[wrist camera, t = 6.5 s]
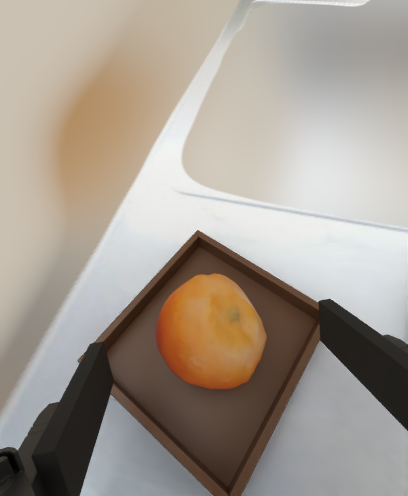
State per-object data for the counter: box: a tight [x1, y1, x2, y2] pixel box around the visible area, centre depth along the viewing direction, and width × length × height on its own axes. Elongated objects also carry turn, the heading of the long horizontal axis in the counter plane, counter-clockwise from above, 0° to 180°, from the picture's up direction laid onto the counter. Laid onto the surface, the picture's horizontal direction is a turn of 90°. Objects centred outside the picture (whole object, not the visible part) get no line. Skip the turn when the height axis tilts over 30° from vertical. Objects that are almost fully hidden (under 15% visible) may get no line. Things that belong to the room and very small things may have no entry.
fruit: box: [156, 274, 267, 389], centre depth 20 cm, size 8×8×8 cm
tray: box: [78, 230, 320, 496], centre depth 22 cm, size 15×14×2 cm
